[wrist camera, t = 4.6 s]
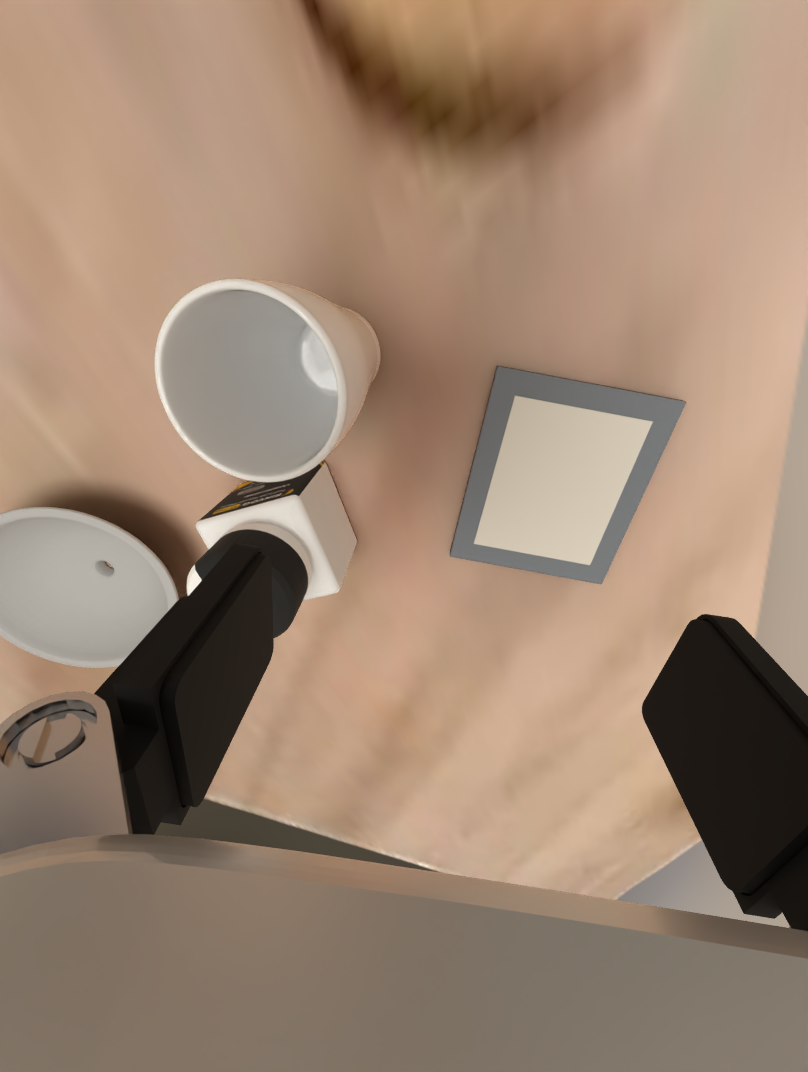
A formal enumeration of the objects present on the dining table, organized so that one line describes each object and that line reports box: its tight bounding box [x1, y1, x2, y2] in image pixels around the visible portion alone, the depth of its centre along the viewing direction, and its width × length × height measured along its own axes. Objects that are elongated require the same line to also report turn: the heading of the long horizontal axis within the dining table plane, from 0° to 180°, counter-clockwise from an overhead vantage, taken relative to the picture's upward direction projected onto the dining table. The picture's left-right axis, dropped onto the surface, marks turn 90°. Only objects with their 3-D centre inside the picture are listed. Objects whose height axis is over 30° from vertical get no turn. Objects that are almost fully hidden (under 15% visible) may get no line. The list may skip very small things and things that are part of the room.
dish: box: [0, 507, 179, 668], centre depth 35 cm, size 18×14×5 cm
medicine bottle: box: [187, 461, 357, 638], centre depth 28 cm, size 7×7×12 cm
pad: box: [450, 366, 686, 584], centre depth 30 cm, size 14×12×1 cm
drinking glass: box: [155, 279, 381, 482], centre depth 21 cm, size 7×7×15 cm
